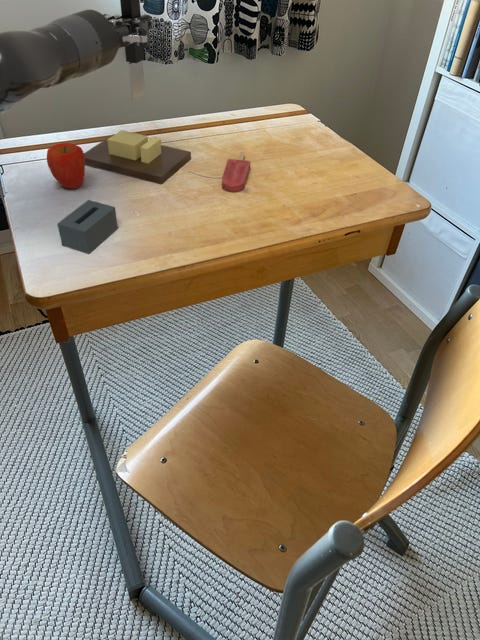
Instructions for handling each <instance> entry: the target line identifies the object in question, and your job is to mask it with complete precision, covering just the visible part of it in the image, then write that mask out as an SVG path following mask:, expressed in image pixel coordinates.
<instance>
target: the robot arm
mask: <svg viewBox="0 0 480 640" xmlns="http://www.w3.org/2000/svg"><path fill="white" fill-rule="evenodd" d="M151 29H152V18H151V16H150V14H146V13H145V14H141V16H139V17H137V18H133V19H129V18H122V15H119V14H114V15H111V14H107V13H103V14H102V13H101V12H99V11H97V10H95V9H84V10H81V11H77V12H74V13H72V14H68V15H65V16H62V17H58V18H56V19H54V20H52V21H50V22H49V23H47V24H44V25H40V26H37V27H35V28H32V29H30V30H5V31H1V32H0V115H1V114H3V113H5V112H7V111H8V110H10V109H11V108H12V107H14V106H15V105H17V104H18V103H20V102H21V101H23V100H25V98H27V97H28V96H31V95H32V94H33V93H35V92H37V91H38V90H41V89H50V88H54V87H57V86H59V85H61V84H63V83H66V82H68V81H69V80H72V79H77V78H80V77H84V76H86V75H88V74H90V73H93V72H94V71H97V70H99V69H101V68H103V67H105V66H107V65H110V64H111V63H112V62H113V61H114V60H115V58H116V56H117V54H118V52H119V50H122V49H123V48H125V47H126V46H128V45H129V44H131V43H133V42H137V45H140V47H141V48H143V49H147V48H148V47H149V41H150V36H149V35H150V34H149V31H151ZM133 32H134V33H133Z"/></svg>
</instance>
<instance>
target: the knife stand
mask: <svg viewBox="0 0 480 640" xmlns="http://www.w3.org/2000/svg"><path fill="white" fill-rule="evenodd" d="M56 224H57V229H58V233H59V237H60V242H61V245H62V246H63V247H66V248H68V249H71V250H75V251H79V252H82V253H85V254H88V255H90V254H91V253H92V252H94V250H95V249H97V247H99V246H100V245H101V244H102V243H103V242H104V241H106V240H107V239H108V238H109V237H110V236H111V235H112V234H114V233H115V232H116V231H117V230H118V229H119V225H118V219H117V212H116V207H115V206H113V205H110V204H105V203H102V202H98V201H94V200H91V199H87V200H86V201H85V202H83V203H82V204H81V205H80V206H79V207H77V208H76V209H75V210H73V211H72V212H71V213H69V214H67V216H65V217H64V218H62V220H60V221H58V222H57V223H56Z"/></svg>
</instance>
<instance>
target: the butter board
mask: <svg viewBox="0 0 480 640" xmlns="http://www.w3.org/2000/svg"><path fill="white" fill-rule="evenodd" d="M115 134H116V133H113V134H112V135H110V136H108V137H106V138H105V139H104V140H102V141H101V142H99V143H97V144H96V145H95V146H93V147H92V148H90V149H89V150H86V151H84V156H85V166H88V167H92V168H95V169H100V170H104V171H108V172H112V173H115V174H119V175H123V176H127V177H131V178H134V179H140V180H143V181H147V182H151V183H155V184H158V185H163V184H164V183H165V182H167V181H168V179H170V178H171V177H172V176H174V174H176V173H177V172H178V171H179V170H180V169H181V168H182V167H183V166H185V165H186V164H187V163H188V162H190V160H192V152H191V151H189V150H185V149H180V148H176V147H171V146H168V145H163V144H161V154H160V155H159V156H158V157H156V158H155V159H154V160H153V161H151V162H150V163H149V164H148V163H144V162H141V157H140V158H138V159H137V160H132V159H128V158H123V157H119V156H115V155H111V154H109V148H108V140H107V139H109V138H110V137H112V136H113V135H115Z"/></svg>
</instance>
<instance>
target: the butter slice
mask: <svg viewBox="0 0 480 640" xmlns="http://www.w3.org/2000/svg"><path fill="white" fill-rule="evenodd" d="M161 140H162V139H161V138H158V137H152V138H150V139H148V142H146V143H145V144H144V145H142V146H141V147H140V151H141V162H144V163H148V164H149V163H150V162H151V161H153V160H154V159H155V158H156V157H158V156H159V155H160V154H161V145H162V142H161Z"/></svg>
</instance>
